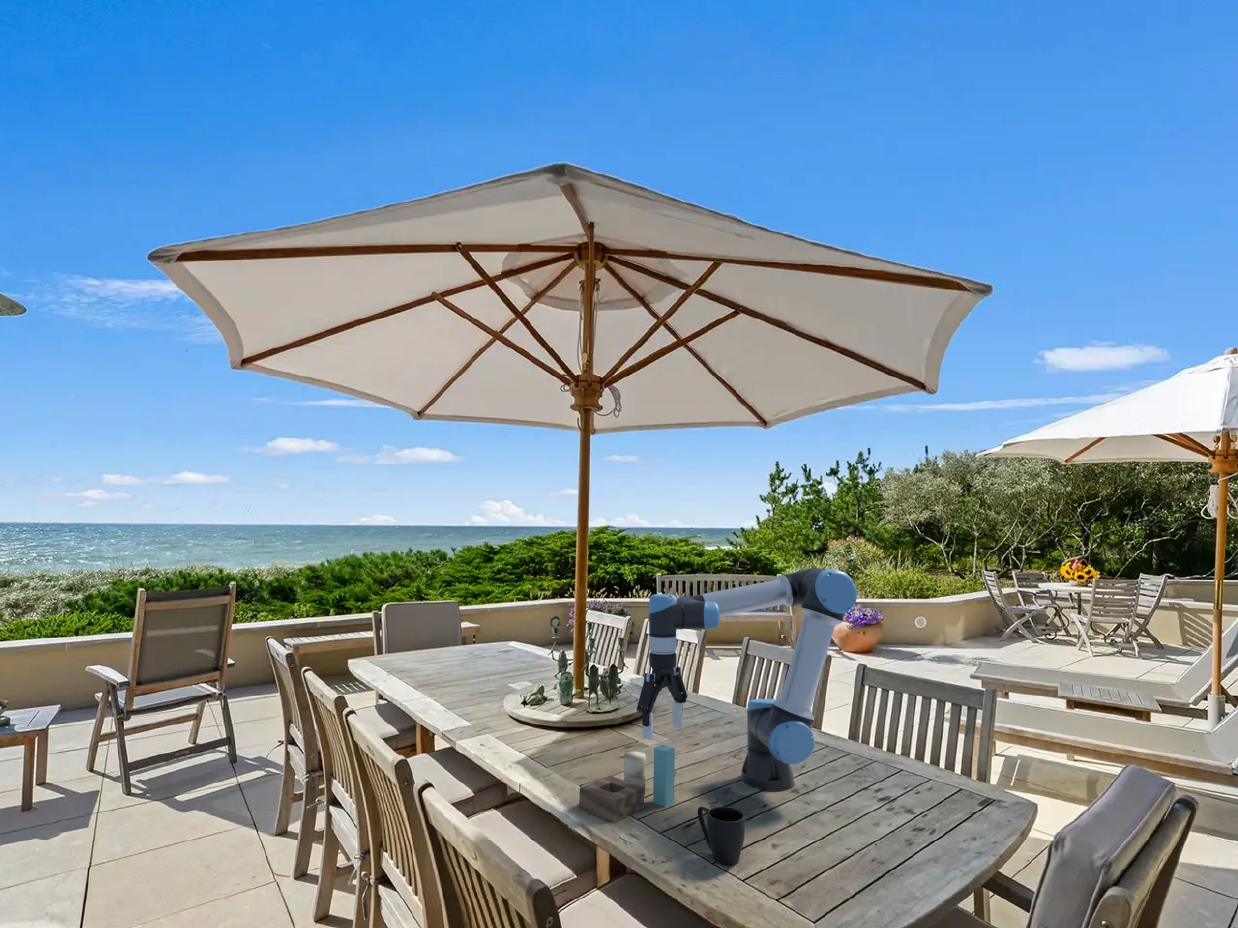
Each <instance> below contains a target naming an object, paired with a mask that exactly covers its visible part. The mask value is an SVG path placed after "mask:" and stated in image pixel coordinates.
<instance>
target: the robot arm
mask: <svg viewBox="0 0 1238 928" xmlns="http://www.w3.org/2000/svg"><path fill="white" fill-rule="evenodd" d="M857 591H858V590H857V587H856V584H855V583H854V580H853V579H852V578H851V576H849V575H848V574H847V573H845V572H843V571H841V570H838V569H834V568H819V567H809V568H804V569H802V570H798V571H794V572H791V573H787V574H781V575H780V576H779V577H778V579H774V580H769V581H764V582H759V583H753V584H747V585H743V586H738V587H732V588H727V589H722V590H717V591H711V592H706V593H701V594H697V595H690V596H687V595H682V596H679V597H676V595H675V594H671V593H670V594H669V593H657V594H656V593H655V594H652V595H651V596H650V597H649V603H648V611H647V612H648V635H649V636H648V639H649V640H648V641H649V642H648V644H649V651H650V652H649V654H648V665H649V666H650V667H651V669H652V671H651V673H648V672H645V673H644V675H643V677H644V678H643V683H642V684H643V685H642V687H641V691H640V695H639V699H638V702H637V707H636V711H637V712H639V713H641V717H642V718H641V721H642V723H641V724H642V739H643V738H644V739H646V740H650V741H652V740H653V739H654V713H653V712H652V710H653V708H654V705H655V703H656V701H657V698H658V695H659V693H660V692H661V691H662V690H663V689H665V688H666V687H667V690H668V692H669V693H670V695H671V696H672V698H673V700H674V701H672V727H674V728H679V729H683V713H684V712H683V704H685V703H687V699H688V693H687V690H686V687H685V683H684V680H683V677H682V671H681V670H682V669H681V666H677V662H678V661H677V660H678V659H677V657H678V656H677V652H676V651H677V650H678V649H677V646H678V645H677V630H707V631H708V630H711V629H712V630H713V629H717V628H718V626H719V625H720V621H721V620H720V619H721V618H722V617H726V616H731V615H735V614H741V613H746V612H752V611H755V610H756V611H757V610H762V609H766V608H772V607H777V606H782V605H784V606H786V607H789V608H791V607H795V606H801V608H800V609H801V611H802V613H803V620H802V623H801V627H800V630H799V632H798V633H799V634H798V636H797V640H796V643H795V647H794V651H793V654H792V657H791V660H790V663H789V667H788V670H787V674H786V677H785V680H784V683H783V687H782V691H781V693H780V694H781V695H780V697H779V698H778V699H775V698H755V699H751V700H749V701H748V703H747V709H746V716H747V717H746V720H747V721H746V724H747V725H746V726H747V727H746V730H747V733H746V735H747V736H746V737H747V738H746V739H747V741H746V743H747V745H746V746H747V749H746V751H747V752H746V755H745V757H744V761H743V764H742V768H741V777H740V779H741V781H742V782H743V783H744V784H745V785H748V786H750V787H752V788H755V789H760V790H764V791H784V790H789V789H791V788H792V787H794V784H795V774H794V772H793V768H792V765H799V764H800V763H803V762H805V761H806V760H808V758H810V756H811V755H812V753H813V751H814V749H815V736H814V734H813V732H812V731H813V730H812V728H813V725H814V721H815V716H814V714H813V713H812V706H813V704H814V699H815V696H816V692H817V690H818V685H819V682H820V679H821V675H822V671H823V668H824V664H825V662H826V659H827V655H828V651H829V647H830V645H831V641H832V637H833V634H834V630H835V627H836V626H838V625H840V624H842V623H843V621H844V616H845V613H846V612H847V613H848V612H849V611H850V610H852V608H853V607H854V606H855V604H856V601H857V598H858V592H857Z"/></svg>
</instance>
